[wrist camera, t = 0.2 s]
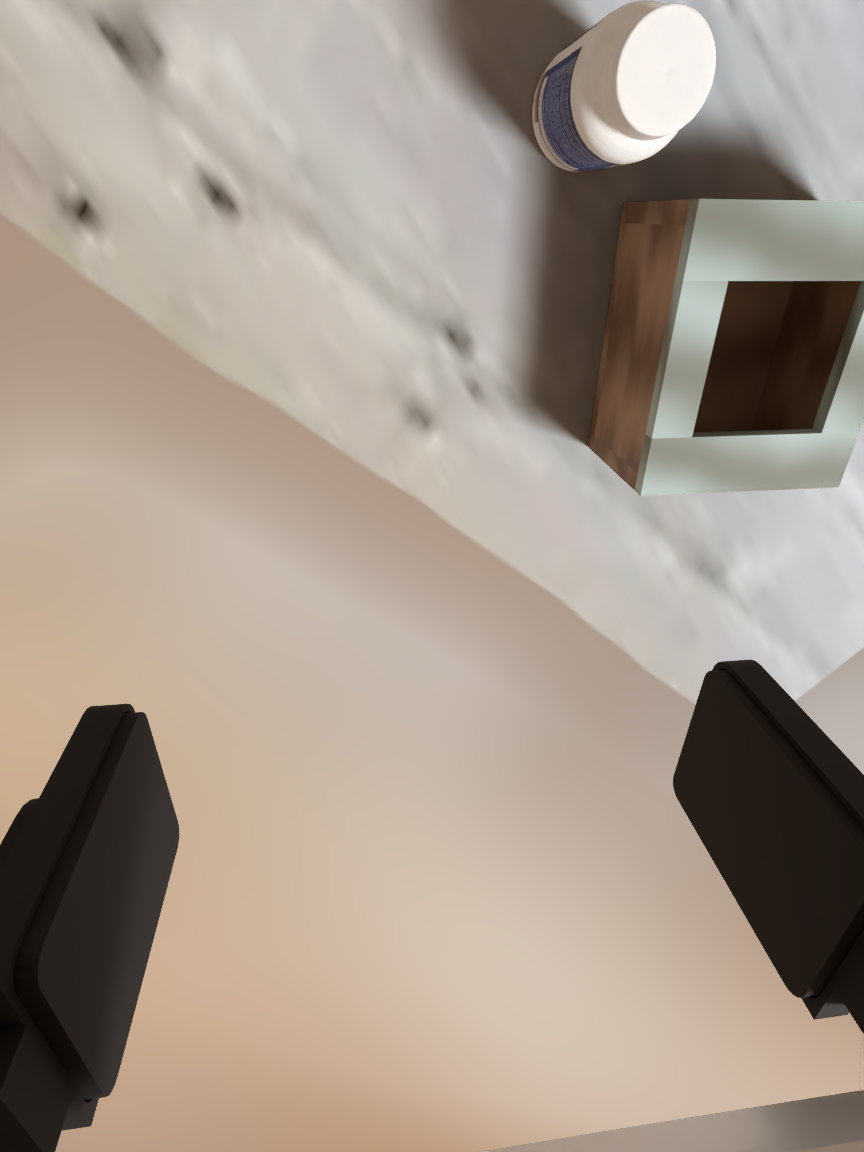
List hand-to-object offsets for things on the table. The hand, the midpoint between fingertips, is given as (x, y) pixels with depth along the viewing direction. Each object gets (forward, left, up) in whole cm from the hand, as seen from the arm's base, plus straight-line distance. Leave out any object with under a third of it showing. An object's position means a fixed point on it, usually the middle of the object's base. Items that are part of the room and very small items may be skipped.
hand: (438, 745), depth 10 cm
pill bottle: (-13, +11, -31) cm, 35 cm away
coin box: (-2, +20, -31) cm, 37 cm away
